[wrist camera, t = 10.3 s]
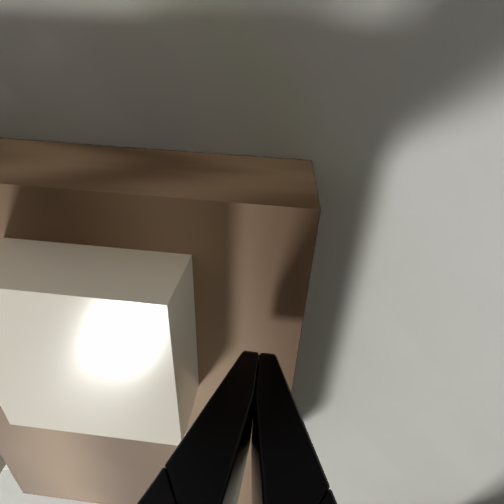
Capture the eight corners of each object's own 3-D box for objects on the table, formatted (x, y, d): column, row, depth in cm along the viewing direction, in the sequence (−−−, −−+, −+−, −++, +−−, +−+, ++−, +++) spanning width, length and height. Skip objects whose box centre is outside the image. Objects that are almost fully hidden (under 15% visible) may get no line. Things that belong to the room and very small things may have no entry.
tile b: (192, 254, 9) (167, 305, 7) (198, 385, 11) (181, 446, 9) (3, 237, 9) (-65, 281, 7) (52, 368, 11) (10, 424, 10)
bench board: (311, 160, 11) (320, 209, 8) (273, 442, 19) (269, 527, 16) (-37, 135, 12) (-171, 169, 8) (69, 417, 20) (23, 492, 17)
